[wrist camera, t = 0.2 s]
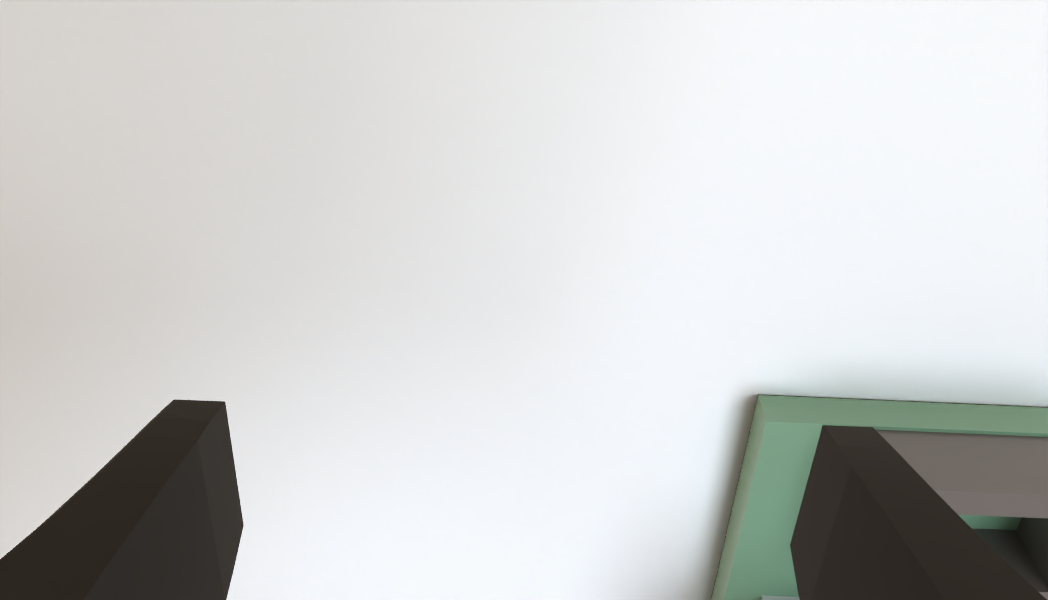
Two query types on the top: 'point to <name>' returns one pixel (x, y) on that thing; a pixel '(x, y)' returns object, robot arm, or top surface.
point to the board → (785, 462)
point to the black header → (989, 488)
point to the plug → (779, 598)
